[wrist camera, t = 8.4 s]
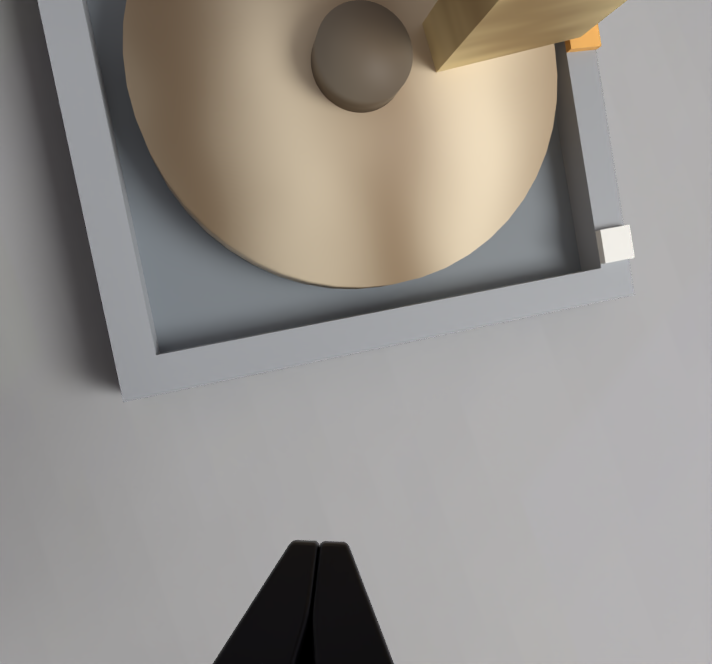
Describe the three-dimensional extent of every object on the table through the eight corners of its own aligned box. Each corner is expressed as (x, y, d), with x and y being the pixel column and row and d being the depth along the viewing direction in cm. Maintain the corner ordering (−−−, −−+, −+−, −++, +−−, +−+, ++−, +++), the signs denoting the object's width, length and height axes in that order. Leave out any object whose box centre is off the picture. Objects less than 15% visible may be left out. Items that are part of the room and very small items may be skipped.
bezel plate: (600, 297, 24) (640, 294, 21) (133, 394, 20) (121, 403, 18) (525, -169, 23) (558, -223, 20) (15, -161, 19) (-13, -226, 17)
